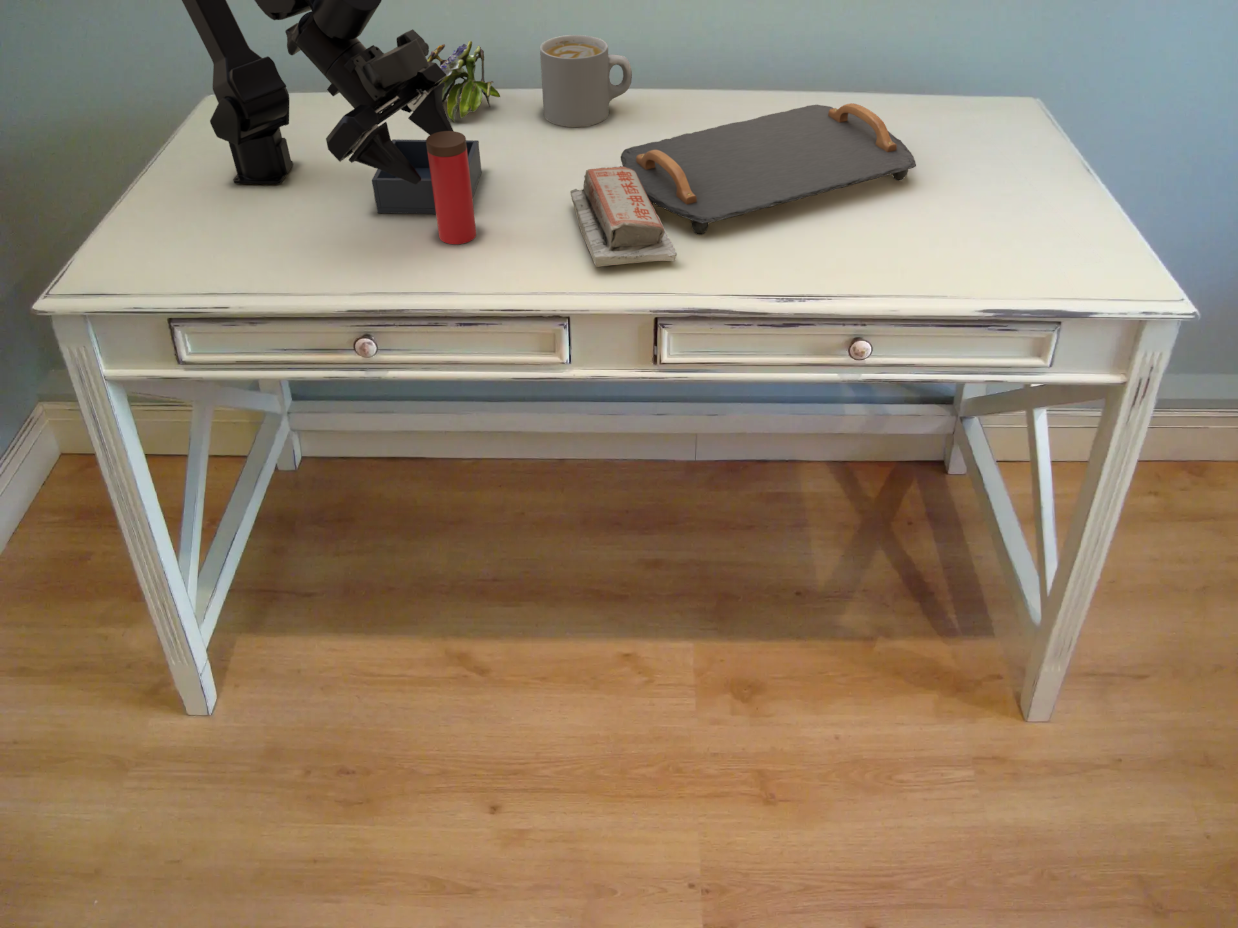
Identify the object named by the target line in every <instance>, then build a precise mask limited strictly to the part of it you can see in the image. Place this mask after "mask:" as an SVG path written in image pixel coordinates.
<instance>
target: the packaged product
mask: <svg viewBox="0 0 1238 928" xmlns="http://www.w3.org/2000/svg"><path fill="white" fill-rule="evenodd" d="M570 199H571V202H572V204H573V207H574V210H575V213H576V214H575V215H576V218H577V222H578V226H579V229H580V232H581V235H582V237H583V240H584V241H585V244H586V246H587V249H588V252H589V253H590V256H591V258H592V261H593V264H594V266H595V268H598V267H607V266H617V265H625V264H637V263H648V262H659V261H660V262H661V261H663V262H676V259H677V255H678V252H677V251H676V249H675V246H674V244H673V242H672V241H671V240H670V237H669V235H668V234H667V231H666V229H665V227H664V225H663V223H662V221H661V218H660V216H659V215H658V213H657V211H656V208H655V207H654V205H653V202H652V201H650V200H649V198H648V196H647V194H646V192H645V190H644V188H643V186H642V184H641V182H640V180H639V178H638V176H637V174H636V172H635V171H634V170H632V169H629V168H626V167H623V165H622V166H612V167H598V168H597V167H596V168H588V169H586V170H585V175H584V180H583V188H582V189H577V188H574V189H572V190H570Z"/></svg>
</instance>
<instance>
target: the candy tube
mask: <svg viewBox="0 0 1238 928" xmlns="http://www.w3.org/2000/svg"><path fill="white" fill-rule="evenodd" d="M425 140H426V145H427V152H428V159H429V167H430V174H431V181H432V188H433V195H434V203H435V210H436V214H435V216H436V217H435V218H436V225H437V230H438V231H437V232H438V237H439V239H440V241H441V242H443V243H445V244H449V245H463V244H467V243H469V242H471V241H473V240H474V239H475V238H476V237H477V227H476V218H475V210H474V200H473V199H474V198H473V199H472V190H471V181H470V172H469V163H468V154H467V145H466V140H467V138H466V135H465V134H464V133H462V132H459V131H455V130H453V131H442V132H437V133H434V134H432V135H428V136H427V137H426V139H425Z"/></svg>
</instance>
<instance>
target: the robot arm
mask: <svg viewBox="0 0 1238 928" xmlns="http://www.w3.org/2000/svg"><path fill="white" fill-rule="evenodd" d="M181 2H182V4H183V6H184V9H185V10H186V12H187V14H188V16H189V18H190V19H191V22H192V24H193V25H194V28H195V29H196V31H197V33H198V36H199V38H200V40H201V41H202V43H203V45H204V48H205V50H206V51H207V53H208V55H209V58H210V59H211V62H212V65H213V68H212V91H213V93H214V96H215V98H216V101H217V106H216V107H215V109H214V112H213V114H212V116H211V118H210V120H209V123H210V126H211V127H212V130H213V132H214V134H215V136H216V138H218V139H220V140H223V141H225V142H228V146H229V149H230V153H231V156H232V161H233V164H234V167H235V171H236V175H235V176H234V178H233V179H232V181H233V184H236V185H237V184H238V185H280V184H282V183H283V181H284V179H286V176H287V175H288V173H290V171H291V170H292V167H293V165H294V161H293V160H292V159H291V154H290V150H289V146H288V142H287V139H286V137H283V135H282V131H281V128H282V127H284V126H288V125H290V93H289V91H288V89H287V84H286V83H285V81H284V80H283V78H282V77H281V75H280V73H279V70H278V69H277V66H276V64H275V61H274V60H273V59H272V58H271V57H270V56H264V57H262V56H260V55H259V54H258V53H257V52H255V51H254V50H253V49H251V47H250V46H249V44H248V42H247V39H246V38H245V36H244V34H243V32H242V29H241V28H240V25H239V24H238V22H237V20H236V17H235V15H234V13H233V11H232V9H231V7H230V5H229V3H228V1H227V0H181ZM254 2H255V3H256V5H257V6H258V7H259V9H260V10H261V11H262V12H263V13H264V15H266V16H267V17H268V18H269V19H271V20H273V21H283V20H286V19H289V18H292V17H296V16H299V15H301V14H303V13H305V14H303V15H302V16H301V17H300V19H298V22H296V23H295V24H293V25H291V26H289V27H288V28H286V29H285V31H284V32H285V35H286V48H287V53H288V54H289V55H290V56H294V55H296V54H297V53H299V52H302V53H303V54H304V55H305V56H306V57H307V59H308V60H309V61H310V62H311V63H312V64H313V65H314V66H315V68H316V69H317V70H318V71H319V72H320V73H321V74H322V75H323V76H324V77H325V78H326V79H327V81H328V82H329V83H330V84H329V86H328V88H327V89H326V91H327V92H328V93H329V94H330V95H331V96H332V97H335V96H337V95H339V94H340V95H341V96H342V97H343V98H344V99H345V100H346V102H347V103H348V104H349V105H350V106H351V107H352V108H353V109H351V110H350V111H349V112H347V113H345V114H344V115H343V116H342V117H341V118H340V120H339V121H338V122H337V124H336V125H335V126H334V127H333V129H332V130H331V131H330V132H329V134H328V135H327V136H326V137H325V142H326V146H327V151H329V152H330V153H331V154H332V155H333V157H335V159H336V160H337V161H338V162H339V163H341V162H342V161H344V160H345V159H347V158H348V157H349V158H348V162H350V163H351V164H353V163H355V162H357V163H359V164H363V165H365V166H368V167H371V168H374V169H376V170H377V169H379V170H382V171H384V172H387V173H389V174H391V175H394V176H396V177H398V178H401V179H403V180H405V181H408V182H410V183H412V184H415V185H417V184H418V183H419V182H420V181H421V177H420V176H419V174H418V173H417V171H416V170H415V168H414V167H413V166H412V165H411V164H410V162H409V161H408V160H407V159H406V158H405V156H404V155H403V154H402V153H401V152H400V150H399V149H398V148H397V147H396V146H395V144H394V143H393V142H392V139H391V135H390V131H389V127H388V123H387V121H386V120H387V119H389V118H390V117H392V116H393V115H395V114H396V113H397V112H399V111H400V110H401V111H402V112H406V113H411V114H410V115H409V116H408V120H409V121H411V122H412V123H413V124H415V125H416V126H417V127H418V128H419V129H421V130H422V131H423V132H424V133H426V134H427V135H428V136H430V135H432V134H434V133H437V132H442V131H454V129H453V126H452V124H451V122H450V120H449V119H450V118H449V116H448V114H447V111H446V110H445V106H444V104H443V103H444V102H443V103H442V94H443V89H444V88H445V83H444V82H442V81H443V80H444V79H445V77H446V76H447V75H446V74H445V73H444V71H443V70H442V69H441V68H440V65H438V63H437V62H434V61H432V62H428V61H427V59H428V58H427V56H429V53H430V50H429V49H430V45H429V44H428V43H427V42H426V41H425V39H424V38H423V37H422V36H421V35H420V34H419V33H418V32H416V31H415V29H409V30H408V31H405V32H404V33H402V34H400V35H399V36H396V47H394V48H393V49H391V50H389V51H386V52H383V51H382V50H381V48H379V46H376V45H374V44H372V45H370V46H369V47H366V46H365V45H364V44H363V43H362V42H361V41H360V40H359V38H358V37H360V36H361V35H362V34H363V32H364V30H365V28H366V27H367V26H368V24H369V22H370V20H371V19H372V17H373V16H374V14H375V12H376V11H377V9H378V8H379V7H380V5H381V3H382V0H254ZM441 82H442V83H441ZM440 83H441V84H440Z"/></svg>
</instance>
